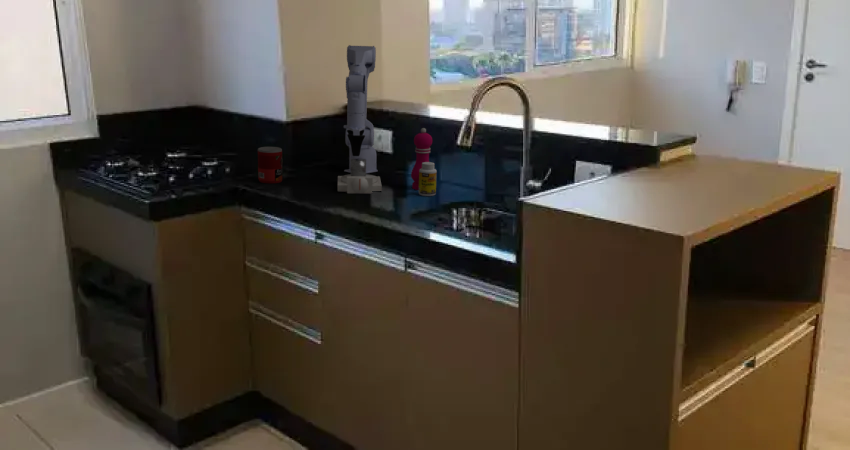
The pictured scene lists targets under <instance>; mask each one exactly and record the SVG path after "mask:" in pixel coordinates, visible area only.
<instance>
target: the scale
mask: <svg viewBox="0 0 850 450" xmlns="http://www.w3.org/2000/svg"><path fill="white" fill-rule="evenodd" d="M382 189H383V187H382V182H381V176H379V175H378V176H376V175H374V174H369V173H366V176H351V173H350V174H345V175H338V176H337V192H345V193H347V194H373V192H372V191H382Z"/></svg>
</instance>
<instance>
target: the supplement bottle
mask: <svg viewBox="0 0 850 450" xmlns="http://www.w3.org/2000/svg"><path fill="white" fill-rule="evenodd" d="M437 173H438V171H437V169H436V168H435V163H434V162H431V161H429V162H423V163H422V168H421V169H420V170H419V190H418V195H420V196H423V197H433V196H435V195H436V194H437Z"/></svg>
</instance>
